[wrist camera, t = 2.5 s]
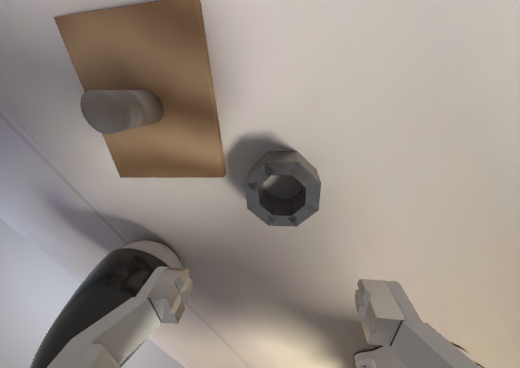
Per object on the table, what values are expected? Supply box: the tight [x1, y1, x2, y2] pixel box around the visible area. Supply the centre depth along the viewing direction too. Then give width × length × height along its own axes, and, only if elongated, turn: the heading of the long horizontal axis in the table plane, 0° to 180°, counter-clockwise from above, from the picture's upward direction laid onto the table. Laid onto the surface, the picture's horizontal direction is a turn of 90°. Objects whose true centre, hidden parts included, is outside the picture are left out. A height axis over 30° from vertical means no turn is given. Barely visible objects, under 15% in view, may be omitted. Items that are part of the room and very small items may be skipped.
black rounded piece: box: [30, 241, 182, 368], centre depth 21 cm, size 10×10×15 cm
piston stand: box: [54, 0, 226, 177], centre depth 16 cm, size 14×12×6 cm
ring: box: [245, 151, 321, 226], centre depth 19 cm, size 7×7×3 cm
